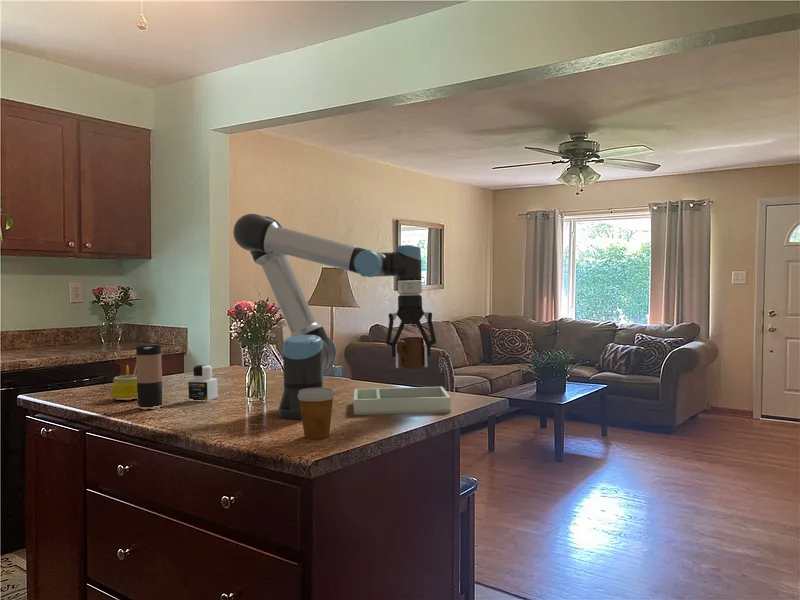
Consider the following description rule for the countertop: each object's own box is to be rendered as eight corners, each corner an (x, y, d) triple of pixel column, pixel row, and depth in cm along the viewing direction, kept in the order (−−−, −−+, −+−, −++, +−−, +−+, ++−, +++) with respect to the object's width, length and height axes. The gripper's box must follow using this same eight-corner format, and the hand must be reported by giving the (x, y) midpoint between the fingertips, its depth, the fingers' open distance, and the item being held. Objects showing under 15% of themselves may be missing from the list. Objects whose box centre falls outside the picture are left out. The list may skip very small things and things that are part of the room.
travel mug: (152, 405, 215) (150, 344, 215) (168, 407, 211) (166, 345, 211) (132, 409, 209) (130, 347, 208) (148, 411, 205) (146, 348, 204)
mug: (408, 371, 197) (407, 340, 197) (387, 370, 201) (387, 339, 201) (428, 366, 207) (428, 337, 207) (408, 365, 211) (408, 336, 211)
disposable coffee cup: (340, 433, 171) (339, 387, 170) (327, 441, 161) (326, 393, 161) (306, 431, 173) (305, 386, 173) (292, 440, 164) (291, 392, 163)
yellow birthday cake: (134, 402, 221) (133, 367, 221) (105, 402, 223) (104, 367, 223) (154, 395, 234) (153, 362, 234) (126, 395, 236) (125, 362, 235)
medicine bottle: (188, 401, 220) (187, 366, 220) (199, 398, 227) (198, 363, 227) (207, 402, 218) (206, 366, 218) (218, 398, 225) (217, 364, 225)
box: (353, 414, 194) (353, 399, 193) (355, 402, 214) (354, 388, 213) (450, 412, 195) (450, 397, 195) (442, 400, 215) (442, 386, 215)
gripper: (376, 295, 199) (378, 369, 200) (444, 294, 200) (446, 367, 201) (375, 295, 207) (377, 366, 207) (442, 293, 208) (443, 364, 208)
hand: (411, 366), depth 204 cm, fingers closed on mug, 8 cm apart
